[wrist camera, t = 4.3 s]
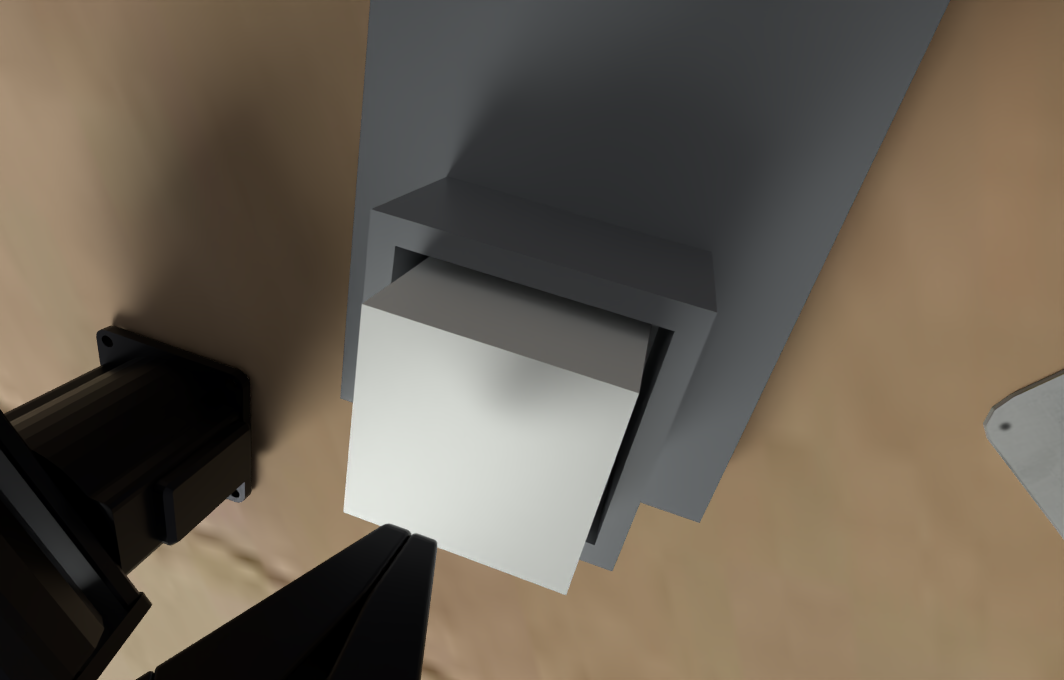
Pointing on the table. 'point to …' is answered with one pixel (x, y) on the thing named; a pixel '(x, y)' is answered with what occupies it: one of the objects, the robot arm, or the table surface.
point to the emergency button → (1034, 442)
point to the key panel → (633, 184)
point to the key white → (489, 416)
